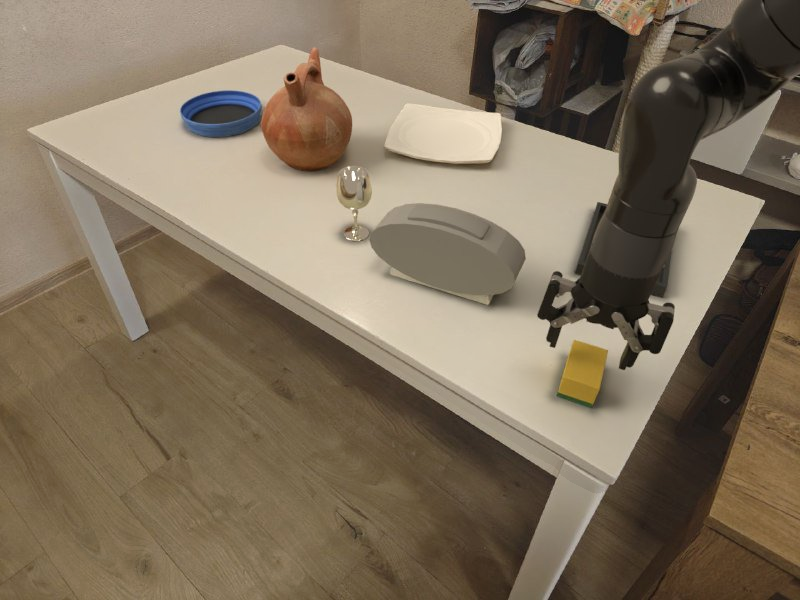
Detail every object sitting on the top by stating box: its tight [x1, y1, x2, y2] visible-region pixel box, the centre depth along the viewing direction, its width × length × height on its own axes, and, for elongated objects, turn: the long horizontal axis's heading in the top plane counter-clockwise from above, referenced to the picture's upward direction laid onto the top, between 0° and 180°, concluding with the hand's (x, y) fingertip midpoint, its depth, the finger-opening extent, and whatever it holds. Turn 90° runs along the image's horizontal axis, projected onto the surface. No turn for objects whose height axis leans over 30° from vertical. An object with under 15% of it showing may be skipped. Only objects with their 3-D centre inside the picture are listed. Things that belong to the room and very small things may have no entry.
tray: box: [574, 201, 673, 298], centre depth 93 cm, size 20×14×2 cm
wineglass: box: [336, 165, 373, 242], centre depth 92 cm, size 6×6×12 cm
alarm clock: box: [368, 202, 526, 306], centre depth 83 cm, size 23×6×13 cm, turn 65°
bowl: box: [179, 89, 263, 138], centre depth 126 cm, size 18×18×4 cm
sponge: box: [556, 339, 609, 409], centre depth 71 cm, size 7×4×4 cm, turn 156°
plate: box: [383, 102, 503, 165], centre depth 120 cm, size 24×24×3 cm
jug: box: [260, 46, 353, 172], centre depth 108 cm, size 18×18×20 cm
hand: (587, 353), depth 68 cm, fingers open, 8 cm apart
